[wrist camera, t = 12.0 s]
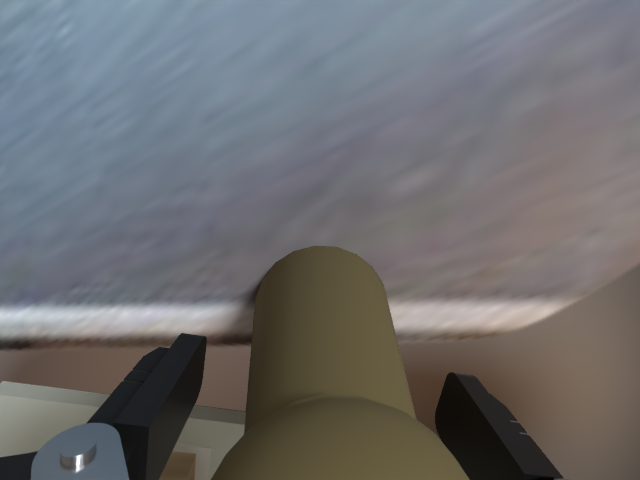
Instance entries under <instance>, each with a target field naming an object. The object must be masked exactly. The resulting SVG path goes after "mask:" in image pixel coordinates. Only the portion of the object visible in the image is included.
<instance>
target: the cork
mask: <svg viewBox="0 0 640 480" xmlns="http://www.w3.org/2000/svg"><path fill="white" fill-rule="evenodd" d="M211 480H470V479H469V478H468V476H467V475H466V474H465V472H464V471H463V469H462V468H461V466H460V465H459V463H458V462H457V460H456V459H455V457H454V456H453V455H452V453H451V452H450V451H449V450H448V449H447V447H446V446H445V445H444V444H443V443H442V441H441V440H440V439H439V438H438V437H437V435H436V434H435V433H434V432H433V431H431V430H430V429H428V428H427V427H426V426H424V425H423V424H421V423H420V422H419V421H417V420H416V417H415V412H414V408H413V404H412V400H411V396H410V392H409V387H408V383H407V380H406V375H405V371H404V367H403V363H402V359H401V355H400V350H399V346H398V342H397V338H396V334H395V330H394V326H393V322H392V317H391V313H390V309H389V305H388V301H387V297H386V293H385V289H384V285H383V283H382V281H381V280H380V278H379V276H378V275H377V273H376V272H375V270H374V268H373V267H372V266H370V265H369V264H368V263H367V262H365V261H364V260H363V259H362V258H360V257H359V256H358V255H357V254H354V253H351V252H349V251H346V250H343V249H341V248H338V247H325V246H313V247H309V248H305V249H301V250H297V251H294V252H292V253H290V254H289V255H287V256H286V257H284V258H283V259H281V260H279V261H278V262H276V263H275V264H274V265H273V267H272V268H271V269H270V270H269V271H268V273H267V274H266V275H265V276H264V278H263V279H262V282H261V284H260V287H259V290H258V292H257V295H256V299H255V311H254V323H253V334H252V346H251V358H250V370H249V381H248V393H247V405H246V417H245V428H244V435H243V436H242V437H241V438H240V439H239V441H238V442H237V443H236V444H235V445H234V446H233V447H232V448H231V449H230V450H229V451H228V453H227V454H226V455H225V457H224V458H223V460H222V462H221V463H220V465H219V467H218V468H217V470H216V472H215V473H214V475H213V477H212V478H211Z"/></svg>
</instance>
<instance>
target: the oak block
mask: <svg viewBox="0 0 640 480" xmlns="http://www.w3.org/2000/svg"><path fill="white" fill-rule="evenodd" d="M195 464H196V454H194V453H183V452H172V453H171V455H170V457H169V459H168V462H167V464H166V466H165V468H164V470H163V472H162V474H161V476H160V478H159V480H194V478H195Z"/></svg>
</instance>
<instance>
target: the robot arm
mask: <svg viewBox="0 0 640 480" xmlns="http://www.w3.org/2000/svg"><path fill="white" fill-rule="evenodd" d="M206 343H207V339H206V337H205V336H198V335H191V334H184V333H181V334H180V335H179V337H178V338H177V339H176V341H175V342H174V343H173V345H172V346H171V347H170V348H162V347H159V348H157V349H155V350H154V351H152V352H150V353H148V354H147V355H145V356H143V358H142V359H141V360H140V361H139V362H138V364H137V365H136V366H135V367H134V368H133V371H131V372H130V373H129V374H128V375H127V376H126V378H125V379H124V381H123V382H121V383H120V384H119V386H118V387H117V388H116V389H115V390H114V392H113V393H112V394H111V395H110V396H109V397H108V398H107V400H106V401H105V402H104V403H103V404H102V405H101V407H100V408H99V409H98V410H97V411H96V412H95V414H94V415H93V416H92V417H91V418H90V419H89V421H88V422H87V423H86V424H82V425H78V426H75V427H72V428H69V429H67V430H65V431H63V432H61V433H59V434H58V435H56V436H55V437H53V438H52V439H50V440H49V441H48V442H47V443H46V444H44V445H43V447H42V448H41V449H40V450H39V451H36V452H31V453H25V454H19V455H12V456H6V457H0V480H159V478H160V476H161V474H162V472H163V470H164V468H165V466H166V464H167V462H168V459H169V457H170V455H171V453H172V451H173V449H174V447H175V445H176V443H177V441H178V438H179V436H180V434H181V432H182V430H183V428H184V426H185V424H186V422H187V420H188V417H189V415H190V413H191V411H192V409H193V407H194V405H195V403H196V400H197V398H198V395H199V392H200V388H201V385H202V379H203V370H204V361H205V352H206ZM435 424H436V429H437V432H438V434H439V436H440V438H441V441H442V443H443V444H444V445H445V446H446V447H447V449H448V450H449V451H450V452H451V453H452V455H453V456H454V457H455V459H456V460H457V462H458V463H459V465H460V466H461V468H462V469H463V471H464V472H465V474H466V475H467V476H468V478H469V479H470V480H568V479H564V478H563V477H562V475H561V474H560V473H559V472H558V470H556V468H555V467H554V465H552V463H551V462H550V461H549V459H548V458H547V457H546V455H545V454H544V453H543V452H542V451H541V449H540V448H539V447H538V446H537V444H536V443H535V442H534V441H533V439H532V438H531V437H530V436H528V435H527V432H526V431H525V429H524V428H523V427H522V426H521V425H520V424H519V423H517V420H516V418H515V417H514V416H513V415H512V413H511V412H510V411H509V410H508V408H507V407H506V406H505V405H503V404H502V403H501V402H500V401H499V400H497V399H496V398H495V397H494V396H492V395H491V394H489V393H488V392H487V390H486V389H485V388H484V387H483V385H482V384H481V383H480V381H479V380H478V379H477V378H476V377H475V376H473V375H466V374H460V373H452V372H451V373H449V374H448V375H447V377H446V380H445V383H444V386H443V390H442V393H441V396H440V399H439V402H438V405H437V408H436V413H435Z"/></svg>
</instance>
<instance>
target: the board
mask: <svg viewBox="0 0 640 480" xmlns="http://www.w3.org/2000/svg"><path fill="white" fill-rule="evenodd" d="M110 395H111V394H103V393H95V392H86V391H79V390H70V389H63V388H55V387H47V386H39V385H31V384H23V383H15V382H7V381H3V382H2V383H0V457H6V456H12V455H19V454H25V453H31V452H36V451H39V450H40V449H41V448H42V447H43V445H44V444H46V443H47V442H48V441H49V440H50V439H52V438H53V437H55V436H56V435H58V434H59V433H61V432H63V431H65V430H67V429H69V428H72V427H75V426H78V425H82V424H86V423H87V422H88V421H89V419H90V418H91V417H92V416H93V415H94V414H95V412H96V411H97V410H98V409H99V408H100V407H101V405H102V404H103V403H104V402H105V401H106V400H107V398H108V397H109V396H110ZM245 417H246V411H238V410H230V409H222V408H214V407H206V406H198V405H194V407H193V409H192V411H191V413H190V415H189V417H188V420H187V422H186V424H185V426H184V428H183V430H182V432H181V434H180V436H179V438H178V441H177V443H176V445H175V447H174V449H173V451H172V452H183V453H194V454H196V464H195V478H194V480H211V478H212V477H213V475H214V473H215V472H216V470H217V468H218V467H219V465H220V463H221V462H222V460H223V458H224V457H225V455H226V454H227V453H228V451H229V450H230V449H231V448H232V447H233V446H234V445H235V444H236V443H237V442H238V441H239V439H240V438H241V437H242V436H243V435H244V428H245Z"/></svg>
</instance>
